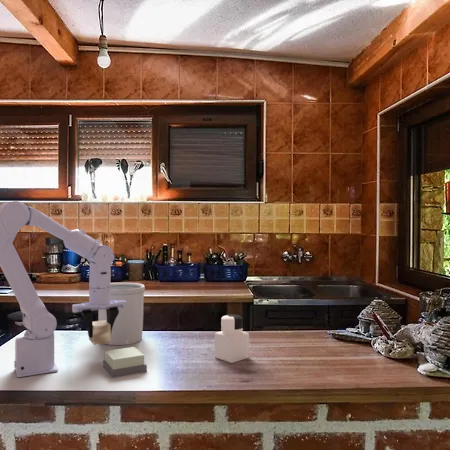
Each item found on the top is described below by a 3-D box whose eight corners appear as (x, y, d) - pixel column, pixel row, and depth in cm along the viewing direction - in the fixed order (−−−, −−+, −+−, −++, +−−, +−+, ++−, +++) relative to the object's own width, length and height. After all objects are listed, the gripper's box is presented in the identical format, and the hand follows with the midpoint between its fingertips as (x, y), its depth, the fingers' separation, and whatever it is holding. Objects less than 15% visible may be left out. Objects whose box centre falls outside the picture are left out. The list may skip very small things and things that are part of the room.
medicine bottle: (231, 352, 131) (231, 311, 131) (249, 357, 126) (249, 315, 126) (213, 357, 126) (214, 315, 126) (231, 363, 121) (232, 319, 121)
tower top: (113, 369, 110) (113, 359, 110) (104, 360, 117) (104, 351, 117) (144, 364, 114) (144, 354, 114) (134, 355, 121) (134, 346, 121)
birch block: (93, 344, 121) (94, 326, 121) (89, 339, 126) (89, 321, 126) (110, 342, 123) (110, 324, 123) (105, 337, 128) (105, 320, 128)
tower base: (111, 380, 110) (111, 370, 110) (102, 369, 118) (102, 360, 118) (146, 374, 114) (146, 364, 114) (135, 364, 122) (135, 355, 122)
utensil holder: (147, 333, 151) (147, 282, 151) (140, 346, 136) (140, 289, 136) (104, 333, 151) (104, 281, 150) (92, 346, 136) (92, 289, 135)
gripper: (75, 291, 117) (75, 342, 117) (129, 287, 124) (129, 335, 124) (70, 287, 123) (70, 335, 124) (122, 284, 130) (122, 329, 131)
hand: (99, 335), depth 124 cm, fingers closed on birch block, 4 cm apart
